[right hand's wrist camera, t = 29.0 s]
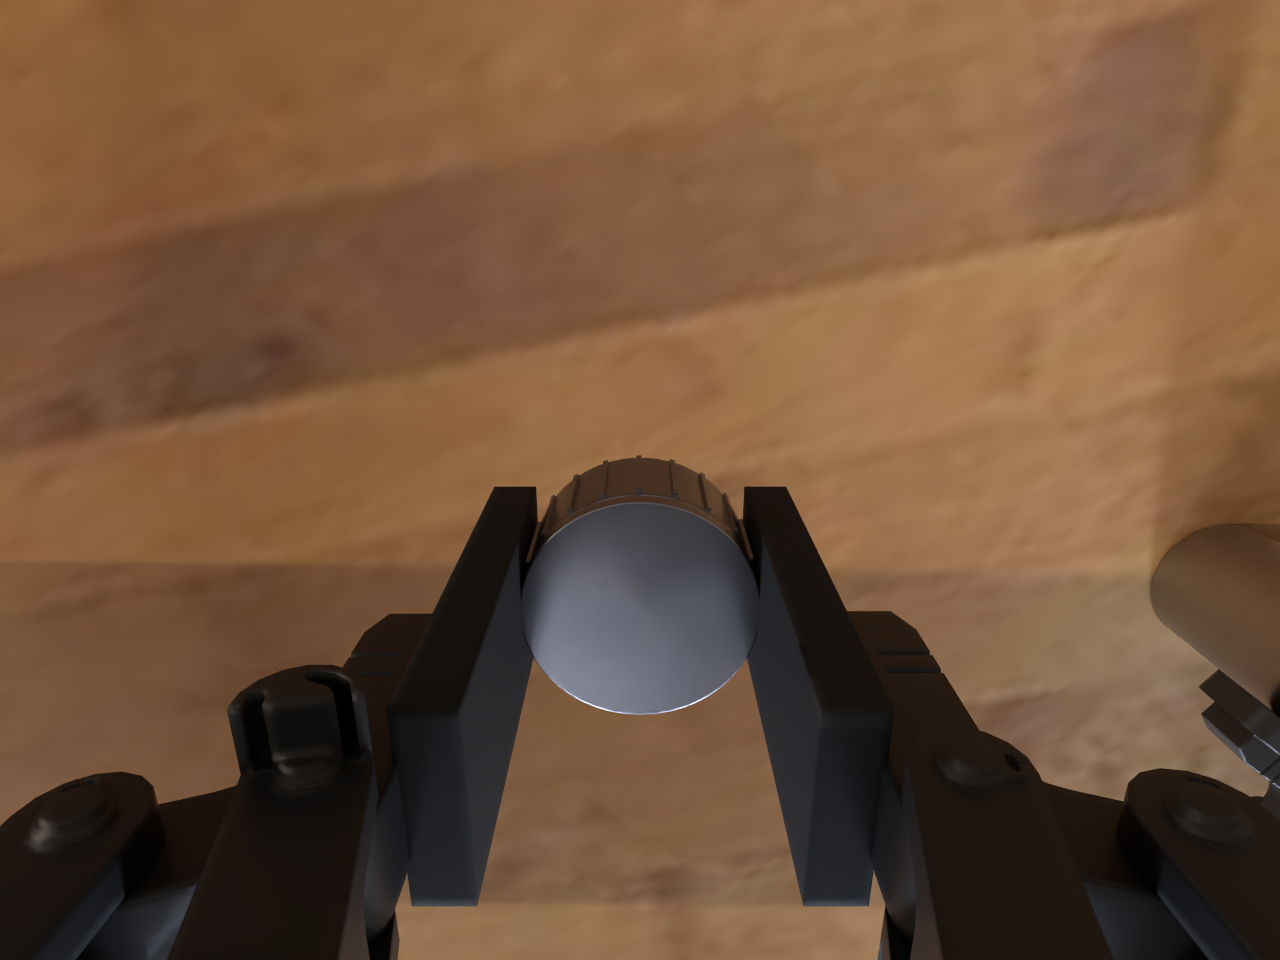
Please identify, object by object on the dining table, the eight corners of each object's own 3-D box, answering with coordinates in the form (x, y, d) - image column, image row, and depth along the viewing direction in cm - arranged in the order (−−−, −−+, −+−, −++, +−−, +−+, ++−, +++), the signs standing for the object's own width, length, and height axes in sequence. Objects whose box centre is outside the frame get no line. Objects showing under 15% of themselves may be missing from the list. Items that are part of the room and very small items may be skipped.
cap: (727, 659, 15) (740, 731, 13) (523, 635, 15) (506, 704, 13) (766, 469, 14) (787, 517, 12) (543, 439, 14) (527, 483, 12)
